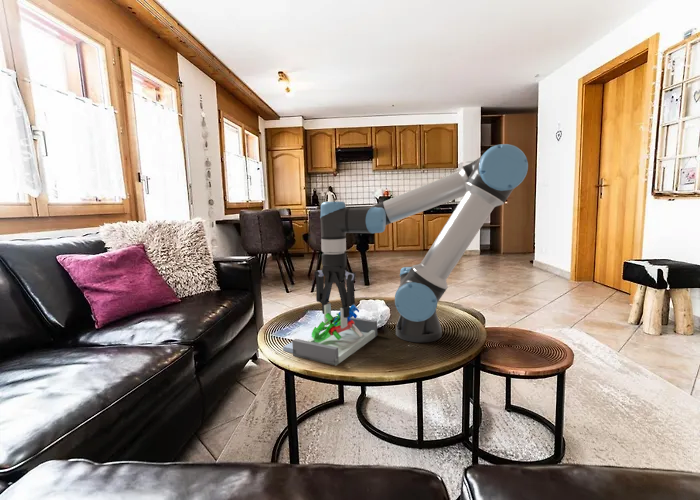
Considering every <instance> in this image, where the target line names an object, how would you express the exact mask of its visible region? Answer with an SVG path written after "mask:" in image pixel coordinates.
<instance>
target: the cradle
mask: <svg viewBox="0 0 700 500" xmlns="http://www.w3.org/2000/svg"><path fill="white" fill-rule="evenodd" d="M350 319H351V320H353V321H354V322H355V324H354V325H355V326H356V327H357V328H358V329H359V330H360V331H361V333H362V334H363V335H364V336H363V337H361V338H360V339H359V338H358V337H357V335H356V334H355V333H354V332H353V331H352V330H351V329H348V330H345V331H342V332H340V333H339V335H340V336H341V339H340V340H337V338H336V337H335V336H334V335H332V336H330V337H329V338H327V339H325V340H323V341H321V342H316V341H315V340H314V339H313V338H312V337H311V338H310V339H309V340H305V341H304V339H301V340H299V339H300V338H294V339H292V341H291V342H292V344H293V353H292V356H293V357H297V358H302V359H307V360H311V361H315V362H318V363H323V364H327V365H330V366H331V365H332V366H335V367H336V366H338V365H339V364H341V363H342V362H343V361H344V360H346V359H347V358H348V357H350V356H351V355H353V354H355V353H356V352H357V351H358V350H361V348H362V347H364V346H365V345H366V344H368V343H369V342H370V341H372V340H373V339H375V338H376V337H377V336H378V321H377V320H375V319H374V320H373V319H368V318H360V317H356V319H355V318H354V317H351V318H350ZM320 334H321V333H319V335H320Z"/></svg>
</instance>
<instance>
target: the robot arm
mask: <svg viewBox="0 0 700 500" xmlns="http://www.w3.org/2000/svg"><path fill="white" fill-rule="evenodd" d="M525 154H526V153H524V151H522V149H520V148H519V147H518V146H516V145H514V144H508V143H502V144H495V145H493V146H491V147H490V148H488V149H487V150H486V151H485V152H484V153H483V154H482V155H481V156H480V157H477V159H475V160H473V161H472V162H470V163H467V164H466V165H463V166H461V167H460V169H459V171H456V172H454V173H452V174H449V175H447V176H445V177H444V176H443V177H442V178H440V179H437V180H434V181H432V182H429V183H426V184H424V185H422V186H420V187H417V188H414V189H412V190H408V191H406V192H404V193H401V194H399V195H395V196H394V197H392V198H389V199H387V200H384V201H381V202H379V203H376V204H373V205H371V206H366V207H347V206H346V203H345V201H324V202H322V203H320V216H319V218H320V233H321V236H320V237H321V239H320V243H321V246H320V247H321V248H320V249H321V252H322V254H321V264H322V268H321V269H319V270H316V271H314V275H315V282H316V284H315V287H316V289H315V291H316V294H315V296H316V302H318V303H320V304H321V310H322V311H321V312H322V315H324V316H323V318H324V319H323V322H324V323H326V322H327V321H328V319H327V318H326V317H325V315H326V314H327V313H330V314H331V315H332V307H331V306H332V304H331V303H330V302H331V301H330V296H331V293H332V287H333V284H335V285H336V287H337V290H338V295H339V297H340V298H339V299H340V301H341V305H342V306H341V307H340V309H339V310H340V311H339V312H340V315H341V328H342V329H343V328H345V327H346V326H347V317H349V307H351V306H352V305H356V297H355V296H356V295H355V278H356V273H354V272H353V273H352V272H349V271H348V269H347V253H346V251H347V242H346V241H347V235H346V234H347V233H348V234H351V233H352V234H381V233H383V232H385V230H386V226H388V225H390V224H392V223H395V222H398V221H401V220H403V219H406V218H408V217H411V216H414V215H416V214H417V215H418V214H420V213H422V212H424V211H428V210H431V209H433V208H435V207H438V206H440V205H445V204H446V203H449V202H452V201H453V200H454V201H455V200H457V199H460V198H461V199H460V201H459V202H458V204H457V205H456V207H455V208H454V210H453V212H452V213H451V215H450V216H449V218H448V219H447V221H446V223H445V224H444V226H443V227H442V229H441V230H440V232H439V234H438V236H436V238H435V240H434V242H433V243H432V245H431V246H430V248H429V250H428V251H427V252H426V254H425V256H424V258H423V259H422V260H421V262H420V263H418V264H413V265H412V266H403V267H402V268H401V269H399V270H400V273H399V277H400V279H399V281H400V283H399V286H398V288H397V290H396V291H395V295H394V304H395V308H396V310H397V312H398V313H399V317H398V320H397V322H396V326H395V335H396V337H397V338H399V339H401V340H403V341H407V342H410V343H431V342H435V341H439V340H440V339H441V338H442V336H443V332H442V329H443V328H442V326H441V322H440V320H439V317H438V314H437V308H438V303H439V301H440V300H441V298H442V297H443V295H444V294H445V292H446V291H447V290H448V282H447V279H448V278H449V276H450V275H451V273H452V272H453V270H454V269H455V267H456V266H457V265H458V263H459V261H460V260H461V259H462V257H463V255H465V252H466V251H467V250H468V247H469V246H470V245H471V243H473V240H474V239H475V237H476V236H477V234H478V232H479V231H480V229H481V228H482V227H483V225H484V224H485V222H486V220H487V219H488V218H489V216H490V215H491V213H492V211H493V210H494V209H495V208H496V207H499V206H504V204H505V203H506V201H507V200H508V198H509V197H510V195H511V193H512V192H513V191H514V189H515V188H517V187H519V185H520V184H522V182H524V180H525V178H526V176H527V174H528V170H529V162H528V158H527V156H526V155H525ZM345 280H346V281H345ZM329 325H330V322H328V323H327V324H326V325H325V326H326V327H328V326H329Z"/></svg>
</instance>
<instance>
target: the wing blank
mask: <svg viewBox="0 0 700 500" xmlns="http://www.w3.org/2000/svg"><path fill="white" fill-rule="evenodd" d="M298 339H299V340H302V338H301V339H300V338H298ZM303 340H304V339H303ZM304 341H306V340H304ZM282 351H284V352H287V353H291V354H293V344H292V341H291V342H290V343H287V344H285V345H283V347H282Z"/></svg>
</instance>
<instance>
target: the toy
mask: <svg viewBox="0 0 700 500" xmlns="http://www.w3.org/2000/svg"><path fill="white" fill-rule="evenodd" d="M356 312H357V313H360V310H359V308H358V307H357V306H356V304H354V305H352V306H350V307H349V317H347V326H346V327H345V328H343V329H342V328H341V315H340V311H339V312H338V313H336V316H333V315H332V313H331V314H330V313H327V314H326V315H325V317H326V318H327V319H328V321H327V322H326V323H324V320H323V321H321V322H320V323H319V324H318V326H315V327H314V328H313V330H312V332H311V339H312V338H313V339H314V340H315V341H316V342H321V341H323V340H325V339H327V338H329V337H330V336H332V335H334V336H335V337H336V338H337V340H340V339H341V336H340V335H339V333H340V332H342V331H345V330H348V329H351V330H352V331H353V332H354V333H355V334H356V335H357V337H358V338H359V339H360V338H361V337H363V336H364V335H363V334H362V333H361V331H360V330H359V329H358V328H357V327H356V326H355V325H354V324H355V322H354V321H353V320H351V319H350V318H351V317H354V318H355V319H356V318H358V315H357V314H356ZM328 322H330V324H329V325H327V326H326V324H327V323H328ZM319 334H320V335H319Z"/></svg>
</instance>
